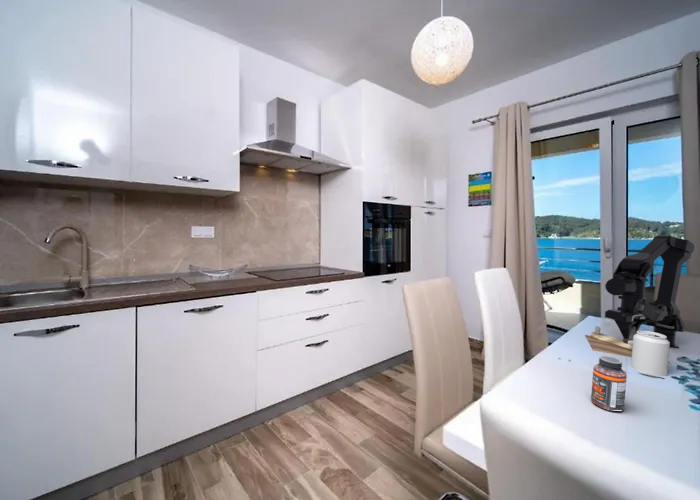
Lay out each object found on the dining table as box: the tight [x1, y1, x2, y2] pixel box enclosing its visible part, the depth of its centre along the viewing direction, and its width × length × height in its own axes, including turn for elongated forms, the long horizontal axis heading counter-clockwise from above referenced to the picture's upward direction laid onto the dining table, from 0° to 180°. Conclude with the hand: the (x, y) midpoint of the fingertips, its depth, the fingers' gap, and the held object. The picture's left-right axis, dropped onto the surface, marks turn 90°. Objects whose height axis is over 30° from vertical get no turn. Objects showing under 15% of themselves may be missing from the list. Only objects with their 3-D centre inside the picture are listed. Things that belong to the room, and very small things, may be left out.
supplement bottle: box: [590, 355, 628, 411], centre depth 70 cm, size 6×6×11 cm
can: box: [630, 330, 670, 379], centre depth 88 cm, size 8×8×12 cm
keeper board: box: [584, 334, 672, 365], centre depth 105 cm, size 19×19×5 cm
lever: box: [589, 326, 636, 350], centre depth 108 cm, size 18×4×8 cm, turn 18°
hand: (628, 338), depth 105 cm, fingers open, 3 cm apart
